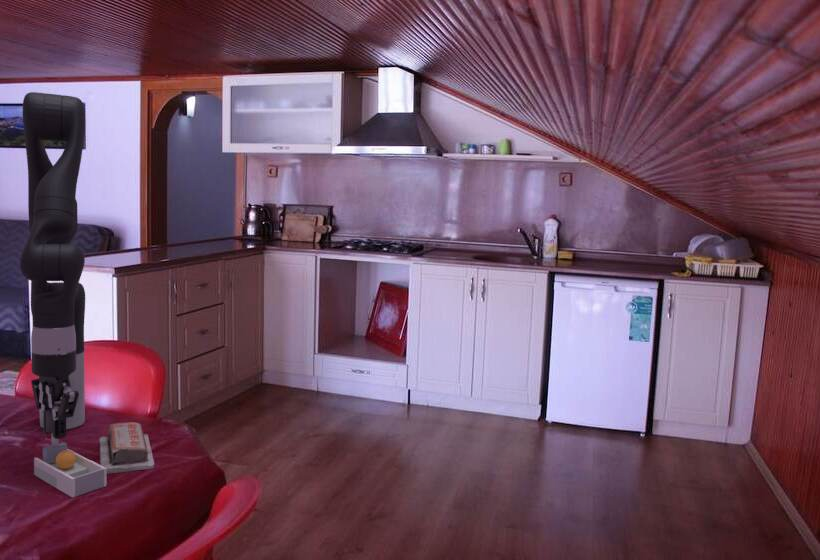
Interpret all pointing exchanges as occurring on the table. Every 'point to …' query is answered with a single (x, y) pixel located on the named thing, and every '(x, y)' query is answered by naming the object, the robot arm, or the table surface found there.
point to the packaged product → (125, 449)
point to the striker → (52, 441)
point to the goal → (82, 480)
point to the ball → (65, 459)
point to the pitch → (50, 470)
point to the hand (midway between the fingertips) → (54, 434)
